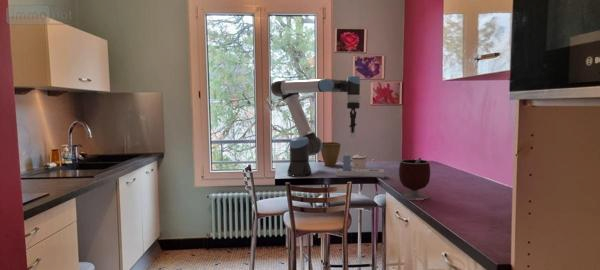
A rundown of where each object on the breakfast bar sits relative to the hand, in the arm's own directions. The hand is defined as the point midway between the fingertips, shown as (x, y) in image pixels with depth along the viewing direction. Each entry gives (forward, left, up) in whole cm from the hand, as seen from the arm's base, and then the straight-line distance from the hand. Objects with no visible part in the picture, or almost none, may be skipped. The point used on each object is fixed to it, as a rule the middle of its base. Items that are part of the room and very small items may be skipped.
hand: (352, 137), depth 228 cm
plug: (-3, -4, -23) cm, 23 cm away
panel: (+5, -4, -24) cm, 24 cm away
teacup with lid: (+2, +17, -24) cm, 29 cm away
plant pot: (-18, +37, -24) cm, 48 cm away
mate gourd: (+32, -51, -24) cm, 65 cm away
